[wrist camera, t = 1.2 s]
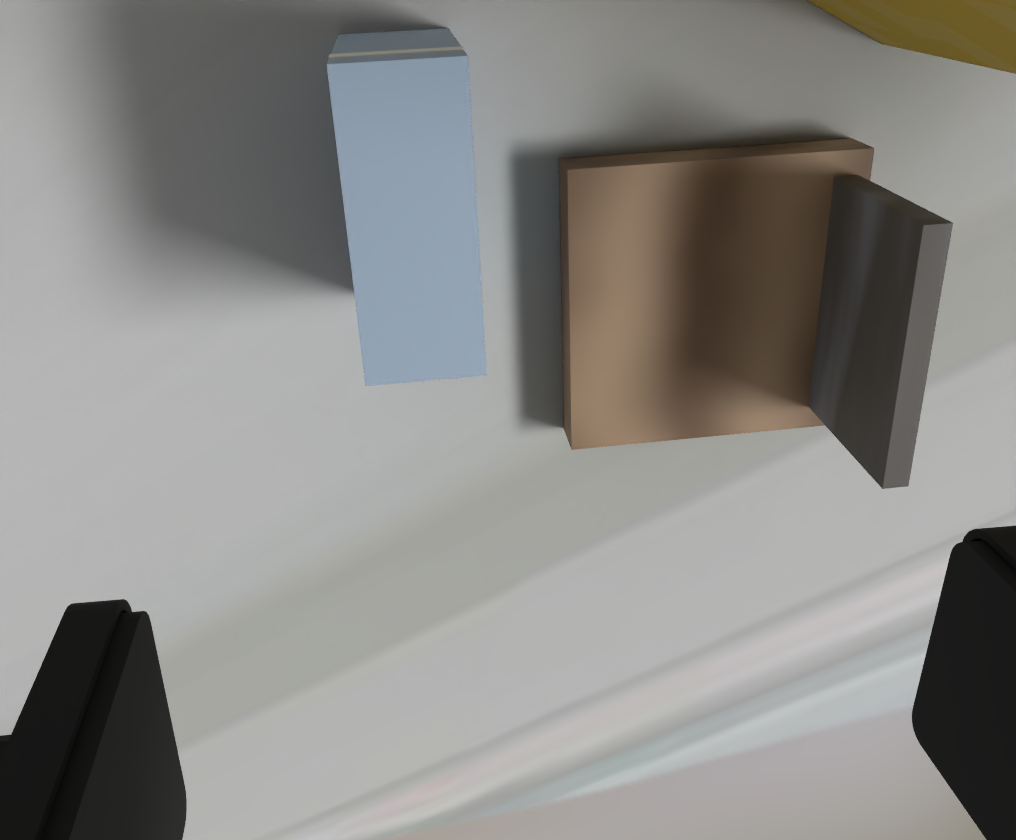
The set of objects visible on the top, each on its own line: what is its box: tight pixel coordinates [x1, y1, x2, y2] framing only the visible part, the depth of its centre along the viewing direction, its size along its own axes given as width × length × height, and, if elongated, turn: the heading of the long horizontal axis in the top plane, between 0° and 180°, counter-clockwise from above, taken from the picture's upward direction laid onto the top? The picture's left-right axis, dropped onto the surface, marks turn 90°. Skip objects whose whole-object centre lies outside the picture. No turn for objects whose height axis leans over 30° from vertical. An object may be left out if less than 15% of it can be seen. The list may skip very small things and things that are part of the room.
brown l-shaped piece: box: [559, 138, 953, 489], centre depth 37 cm, size 12×12×9 cm
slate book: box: [326, 28, 487, 386], centre depth 34 cm, size 4×10×9 cm, turn 3°
